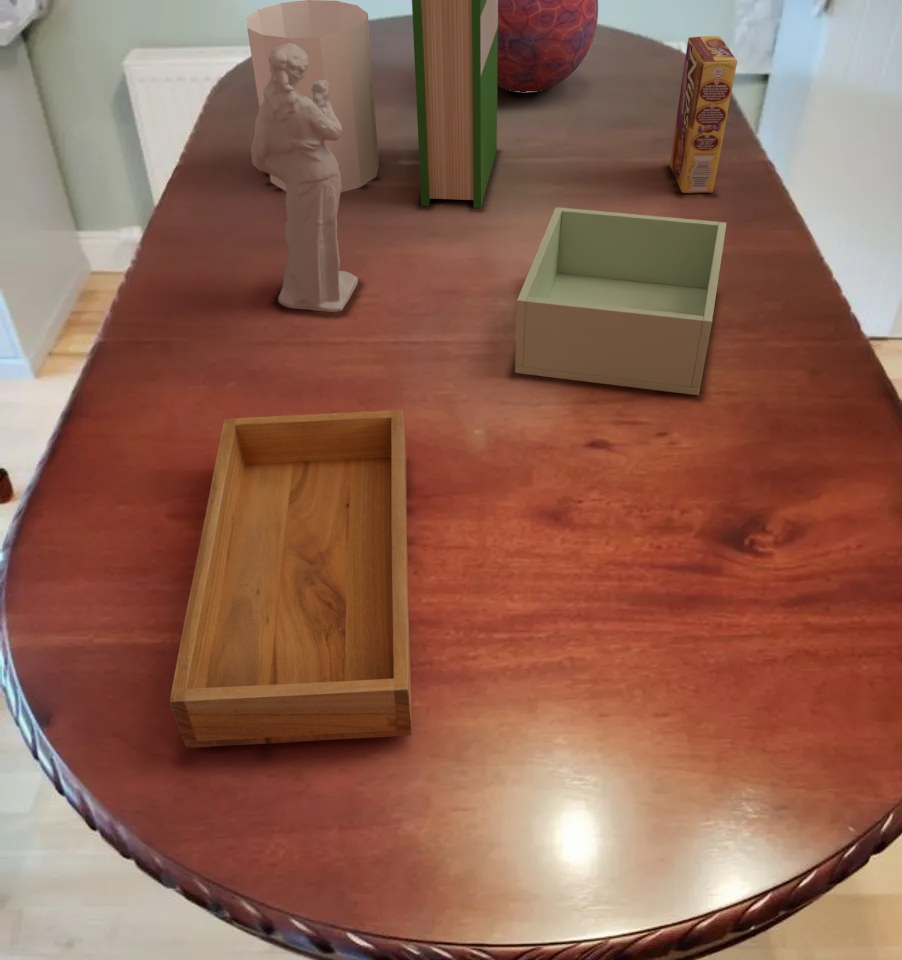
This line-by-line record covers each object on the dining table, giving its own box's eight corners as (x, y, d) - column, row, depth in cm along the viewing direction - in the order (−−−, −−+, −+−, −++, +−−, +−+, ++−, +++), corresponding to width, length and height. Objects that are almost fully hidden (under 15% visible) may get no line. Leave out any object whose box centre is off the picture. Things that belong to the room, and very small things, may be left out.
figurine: (342, 263, 113) (315, 17, 95) (375, 302, 107) (353, 47, 89) (262, 282, 111) (219, 34, 93) (291, 323, 104) (251, 65, 86)
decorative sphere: (610, 106, 144) (624, -56, 130) (476, 120, 142) (474, -43, 127) (569, 60, 158) (578, -90, 144) (446, 73, 155) (442, -79, 141)
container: (389, 152, 135) (379, 1, 122) (364, 198, 125) (351, 40, 112) (286, 146, 137) (266, -2, 124) (254, 191, 127) (228, 36, 114)
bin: (713, 292, 107) (726, 222, 101) (698, 395, 94) (712, 321, 88) (551, 276, 110) (555, 206, 105) (514, 373, 97) (516, 300, 91)
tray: (234, 467, 88) (222, 413, 84) (406, 459, 88) (403, 405, 84) (186, 755, 66) (166, 702, 62) (413, 743, 67) (409, 689, 63)
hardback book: (480, 208, 122) (480, -15, 105) (421, 205, 123) (411, -16, 106) (496, 149, 134) (498, -59, 117) (442, 147, 135) (436, -60, 118)
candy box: (716, 193, 123) (738, 59, 112) (681, 195, 123) (700, 61, 112) (702, 164, 130) (721, 34, 119) (668, 165, 130) (685, 35, 119)
